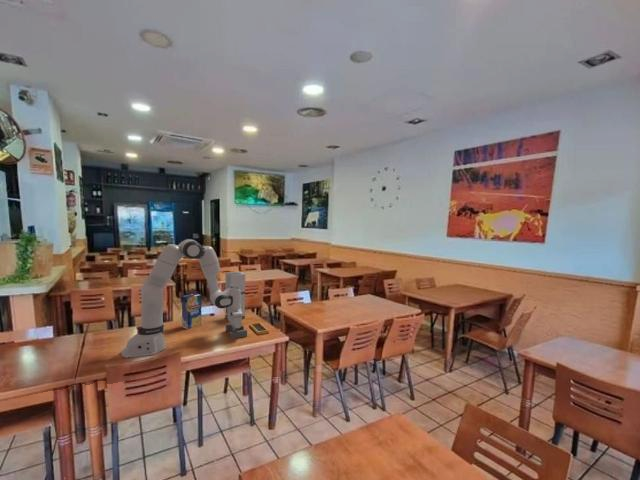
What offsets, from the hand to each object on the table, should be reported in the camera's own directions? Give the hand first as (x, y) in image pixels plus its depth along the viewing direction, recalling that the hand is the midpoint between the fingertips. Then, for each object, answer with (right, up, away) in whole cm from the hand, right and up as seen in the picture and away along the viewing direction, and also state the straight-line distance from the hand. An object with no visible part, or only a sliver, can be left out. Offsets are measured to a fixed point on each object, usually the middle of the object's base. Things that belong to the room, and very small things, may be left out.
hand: (234, 330), depth 210 cm
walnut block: (+3, -2, +2) cm, 4 cm away
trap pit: (+15, -2, +9) cm, 18 cm away
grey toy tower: (-8, 0, +32) cm, 33 cm away
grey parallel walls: (+1, -2, +1) cm, 3 cm away
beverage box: (-34, -1, +13) cm, 36 cm away
